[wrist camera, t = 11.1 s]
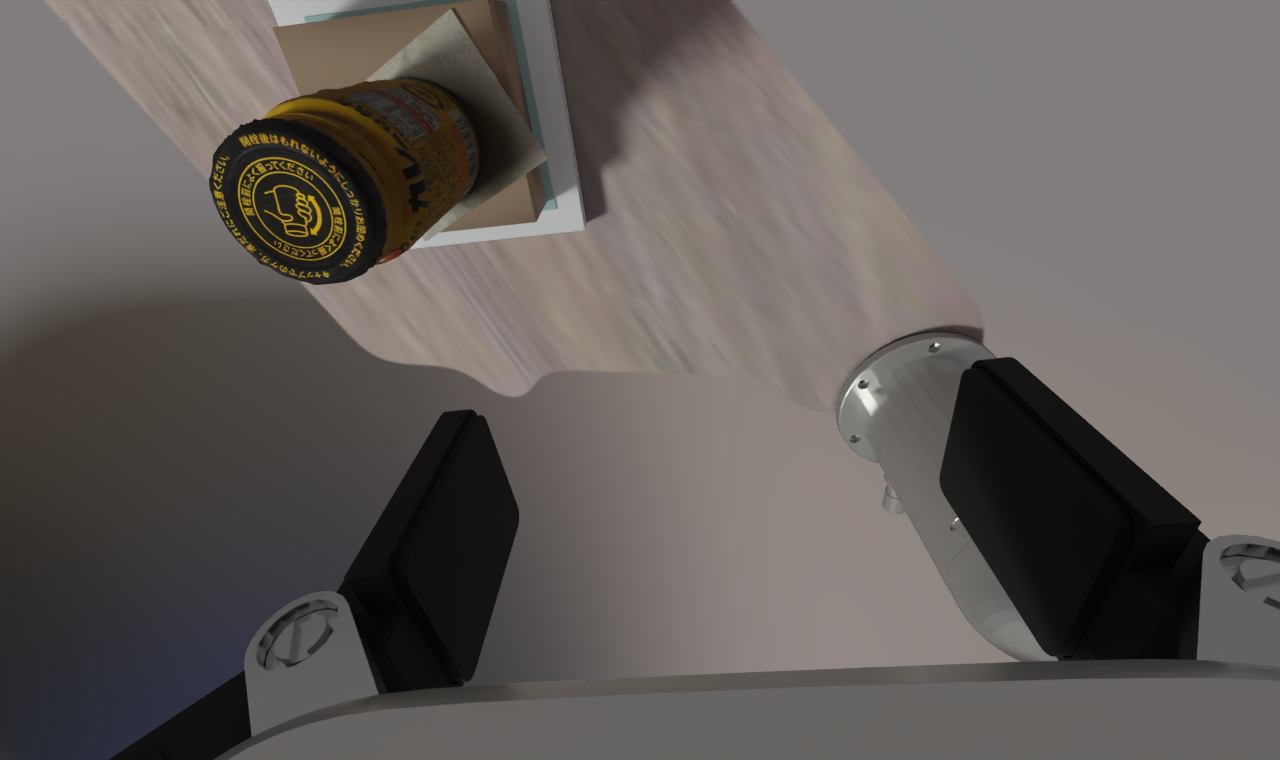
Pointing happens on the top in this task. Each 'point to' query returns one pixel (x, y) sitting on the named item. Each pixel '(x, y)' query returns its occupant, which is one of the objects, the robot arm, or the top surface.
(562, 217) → the build board
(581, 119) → the top surface
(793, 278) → the top surface
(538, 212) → the base block
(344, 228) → the condiment
